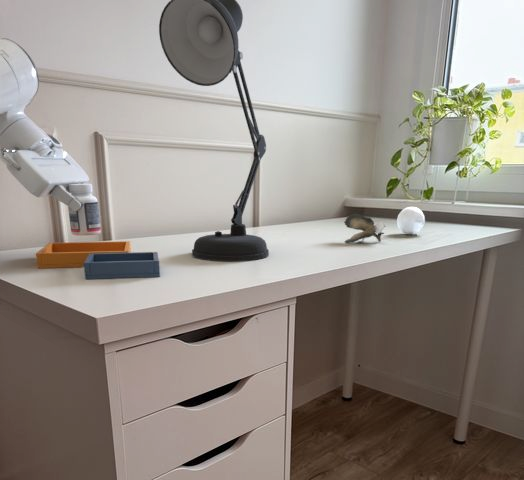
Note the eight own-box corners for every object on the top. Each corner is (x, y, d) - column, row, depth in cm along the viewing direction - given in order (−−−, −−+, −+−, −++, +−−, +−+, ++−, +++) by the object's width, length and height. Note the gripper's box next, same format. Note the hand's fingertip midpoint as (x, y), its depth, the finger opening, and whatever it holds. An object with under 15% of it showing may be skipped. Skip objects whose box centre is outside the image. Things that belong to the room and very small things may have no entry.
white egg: (410, 236, 137) (413, 208, 135) (389, 233, 143) (392, 206, 140) (435, 234, 142) (439, 206, 140) (414, 231, 148) (417, 205, 146)
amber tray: (37, 268, 90) (35, 253, 89) (50, 256, 103) (48, 242, 102) (129, 265, 93) (128, 251, 92) (131, 254, 106) (130, 241, 105)
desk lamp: (178, 269, 90) (164, -38, 75) (158, 248, 113) (145, 10, 98) (307, 263, 97) (318, -19, 82) (264, 244, 120) (266, 21, 105)
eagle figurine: (373, 234, 131) (340, 227, 130) (385, 211, 126) (350, 204, 124) (378, 254, 127) (343, 248, 125) (390, 232, 121) (354, 224, 119)
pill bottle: (102, 232, 99) (97, 183, 96) (99, 235, 94) (93, 184, 91) (73, 232, 98) (68, 183, 95) (68, 236, 93) (62, 184, 90)
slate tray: (85, 279, 82) (83, 262, 81) (90, 268, 91) (89, 253, 90) (159, 276, 84) (159, 260, 83) (158, 266, 93) (157, 251, 92)
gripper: (6, 132, 81) (75, 198, 84) (60, 138, 100) (114, 191, 103) (-17, 162, 83) (52, 226, 86) (40, 162, 102) (94, 214, 105)
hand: (86, 207), depth 95 cm, fingers closed on pill bottle, 5 cm apart
